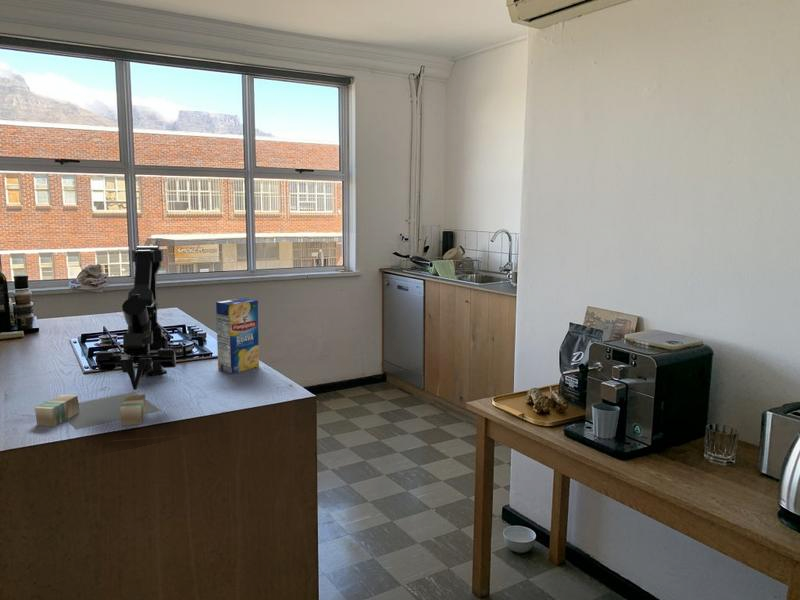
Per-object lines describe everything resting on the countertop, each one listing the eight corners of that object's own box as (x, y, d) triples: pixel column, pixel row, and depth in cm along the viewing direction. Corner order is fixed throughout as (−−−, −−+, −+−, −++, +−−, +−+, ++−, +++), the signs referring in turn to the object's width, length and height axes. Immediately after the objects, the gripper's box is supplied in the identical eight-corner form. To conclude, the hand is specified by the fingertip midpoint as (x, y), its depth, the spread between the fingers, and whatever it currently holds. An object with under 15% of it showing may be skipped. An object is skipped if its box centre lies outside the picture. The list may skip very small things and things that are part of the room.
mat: (55, 408, 156) (54, 407, 156) (134, 392, 169) (134, 391, 169) (76, 430, 142) (75, 429, 142) (160, 411, 156) (160, 410, 156)
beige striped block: (61, 394, 152) (34, 407, 144) (77, 395, 152) (51, 408, 143) (63, 411, 153) (36, 425, 145) (79, 412, 153) (54, 427, 144)
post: (125, 394, 153) (119, 407, 144) (145, 393, 154) (141, 406, 146) (126, 411, 154) (120, 426, 145) (146, 410, 155) (141, 424, 147)
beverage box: (217, 369, 193) (215, 302, 189) (246, 362, 201) (244, 297, 198) (231, 374, 189) (229, 304, 185) (259, 366, 197) (257, 300, 193)
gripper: (94, 321, 152) (87, 376, 144) (173, 318, 157) (170, 371, 149) (102, 343, 161) (96, 396, 152) (176, 340, 166) (175, 392, 157)
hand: (134, 388), depth 153 cm, fingers closed
